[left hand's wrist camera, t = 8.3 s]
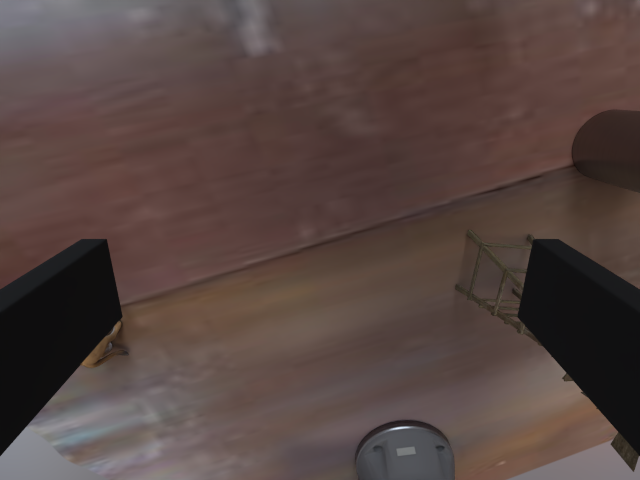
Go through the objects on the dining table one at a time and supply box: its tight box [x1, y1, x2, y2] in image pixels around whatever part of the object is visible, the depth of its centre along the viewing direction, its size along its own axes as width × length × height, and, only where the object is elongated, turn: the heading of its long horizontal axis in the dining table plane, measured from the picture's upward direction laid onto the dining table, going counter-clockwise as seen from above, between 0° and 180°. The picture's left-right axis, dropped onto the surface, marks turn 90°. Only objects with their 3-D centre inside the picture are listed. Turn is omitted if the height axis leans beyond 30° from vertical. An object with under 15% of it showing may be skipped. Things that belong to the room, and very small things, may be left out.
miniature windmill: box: [456, 230, 639, 472], centre depth 37 cm, size 9×8×30 cm
